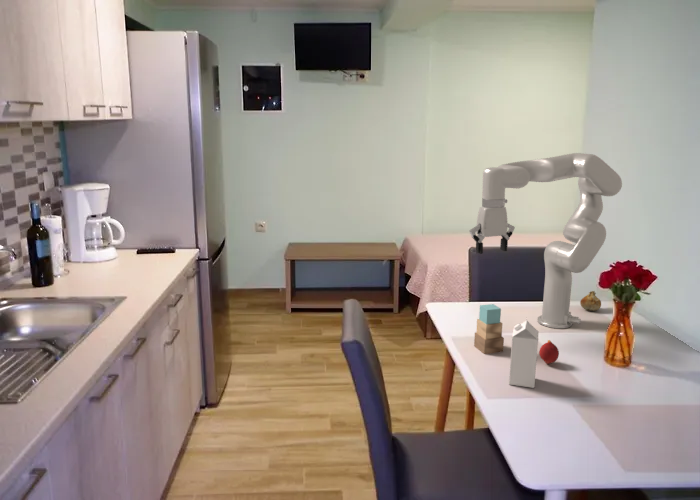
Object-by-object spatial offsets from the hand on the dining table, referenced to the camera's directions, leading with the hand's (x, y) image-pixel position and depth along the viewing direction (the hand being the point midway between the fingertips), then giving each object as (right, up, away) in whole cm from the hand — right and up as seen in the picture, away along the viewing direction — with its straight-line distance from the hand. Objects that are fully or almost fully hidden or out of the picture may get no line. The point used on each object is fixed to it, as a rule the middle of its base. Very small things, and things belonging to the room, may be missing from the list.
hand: (491, 251), depth 198 cm
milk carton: (+1, -39, -32) cm, 50 cm away
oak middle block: (-3, -28, -9) cm, 30 cm away
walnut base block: (-3, -33, -8) cm, 34 cm away
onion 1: (+13, -36, -20) cm, 43 cm away
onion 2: (+48, -24, +30) cm, 61 cm away
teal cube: (-3, -23, -10) cm, 26 cm away
